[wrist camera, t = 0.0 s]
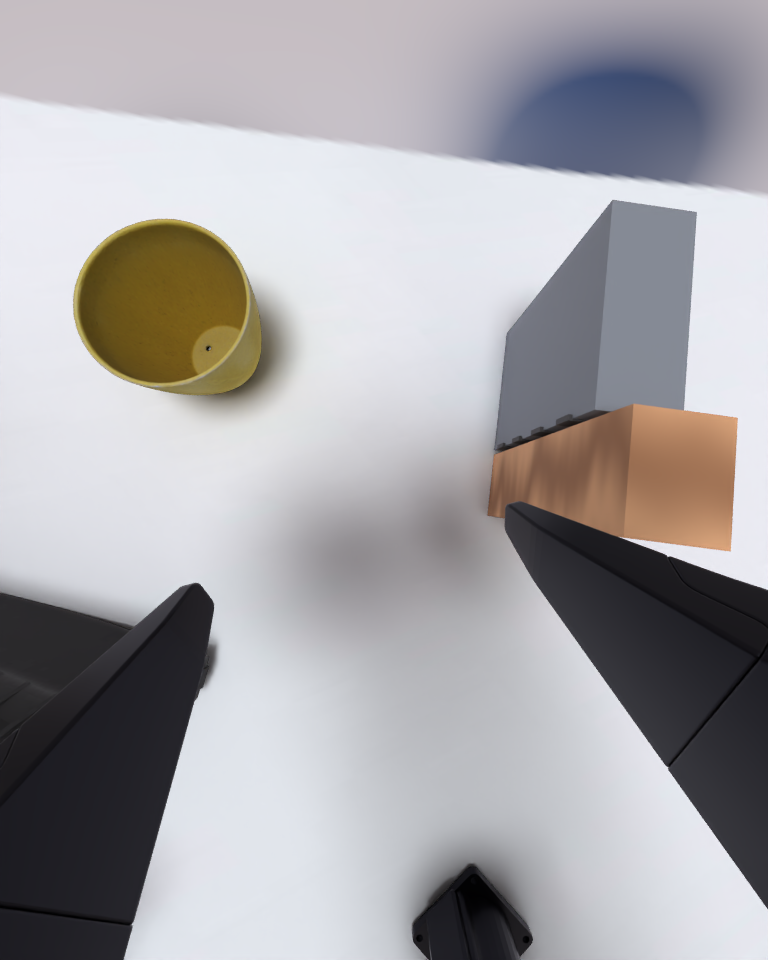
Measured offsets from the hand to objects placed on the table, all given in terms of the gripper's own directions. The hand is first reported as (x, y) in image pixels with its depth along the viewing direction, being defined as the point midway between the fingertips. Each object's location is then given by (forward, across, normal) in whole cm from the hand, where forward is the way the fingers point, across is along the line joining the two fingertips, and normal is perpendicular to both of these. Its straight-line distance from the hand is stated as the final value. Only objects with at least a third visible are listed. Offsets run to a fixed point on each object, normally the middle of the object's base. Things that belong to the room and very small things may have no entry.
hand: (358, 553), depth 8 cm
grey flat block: (+16, -15, +2) cm, 22 cm away
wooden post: (+12, -12, +8) cm, 19 cm away
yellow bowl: (+21, +8, -5) cm, 23 cm away
